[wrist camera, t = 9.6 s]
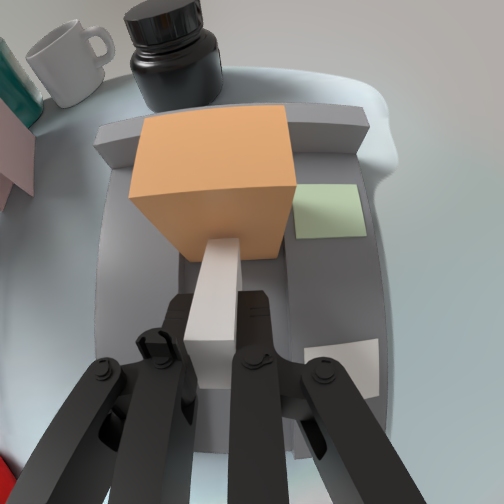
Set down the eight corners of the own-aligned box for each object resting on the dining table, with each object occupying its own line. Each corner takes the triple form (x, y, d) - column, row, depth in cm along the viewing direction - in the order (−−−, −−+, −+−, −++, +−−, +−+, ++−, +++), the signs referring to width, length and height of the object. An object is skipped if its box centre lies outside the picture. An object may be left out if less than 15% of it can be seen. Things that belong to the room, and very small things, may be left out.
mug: (50, 116, 27) (14, 68, 16) (68, 81, 29) (40, 36, 18) (119, 89, 27) (89, 26, 16) (131, 56, 29) (110, 2, 19)
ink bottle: (236, 72, 27) (229, -14, 15) (211, 121, 24) (190, 18, 13) (163, 69, 27) (141, -5, 16) (131, 116, 25) (90, 35, 14)
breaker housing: (369, 429, 17) (406, 459, 10) (123, 433, 17) (83, 461, 10) (341, 154, 23) (362, 107, 17) (129, 167, 23) (99, 126, 17)
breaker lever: (276, 258, 19) (296, 185, 9) (189, 262, 19) (128, 197, 9) (272, 205, 20) (284, 105, 10) (191, 209, 20) (144, 118, 10)
